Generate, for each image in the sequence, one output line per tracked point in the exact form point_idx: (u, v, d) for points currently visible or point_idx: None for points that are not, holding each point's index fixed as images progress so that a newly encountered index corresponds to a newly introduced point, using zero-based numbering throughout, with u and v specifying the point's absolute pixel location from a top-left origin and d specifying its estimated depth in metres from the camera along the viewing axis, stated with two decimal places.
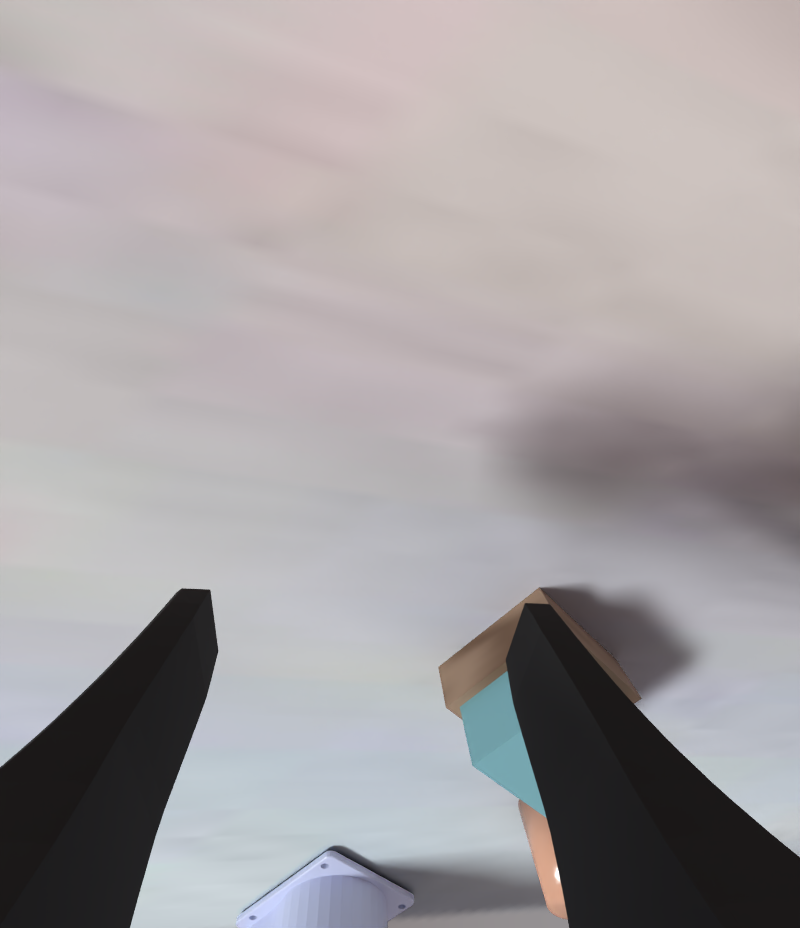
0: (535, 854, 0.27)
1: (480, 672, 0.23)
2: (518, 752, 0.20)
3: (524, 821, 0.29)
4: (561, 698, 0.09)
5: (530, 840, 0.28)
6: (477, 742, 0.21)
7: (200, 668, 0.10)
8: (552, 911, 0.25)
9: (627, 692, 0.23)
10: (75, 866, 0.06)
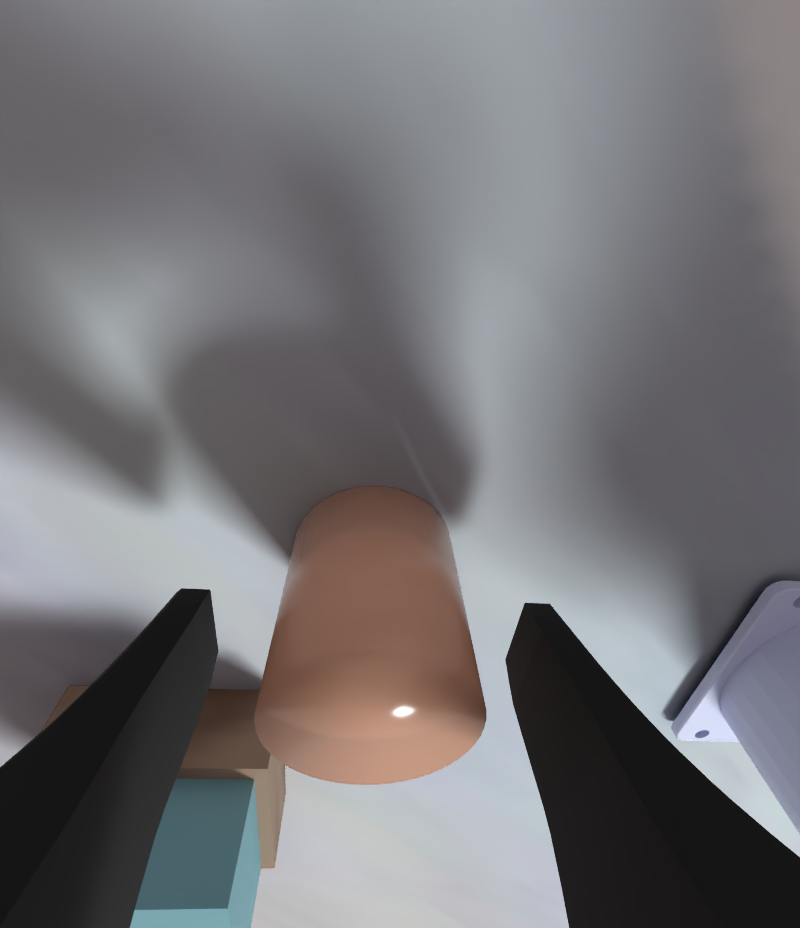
0: None
1: None
2: None
3: None
4: (561, 698, 0.09)
5: None
6: None
7: (200, 668, 0.10)
8: (473, 738, 0.09)
9: None
10: (75, 866, 0.06)
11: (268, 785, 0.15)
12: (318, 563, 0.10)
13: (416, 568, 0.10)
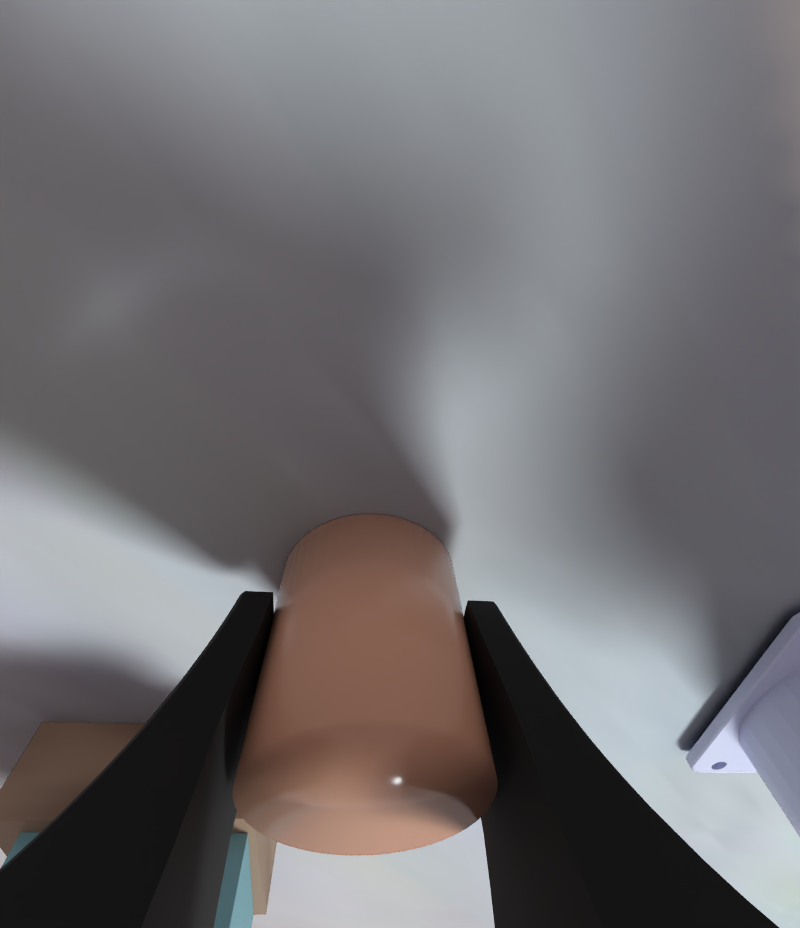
0: None
1: None
2: None
3: None
4: (493, 697, 0.09)
5: None
6: None
7: None
8: (482, 808, 0.08)
9: (3, 835, 0.13)
10: (186, 865, 0.06)
11: (255, 834, 0.13)
12: (307, 608, 0.09)
13: (417, 614, 0.09)
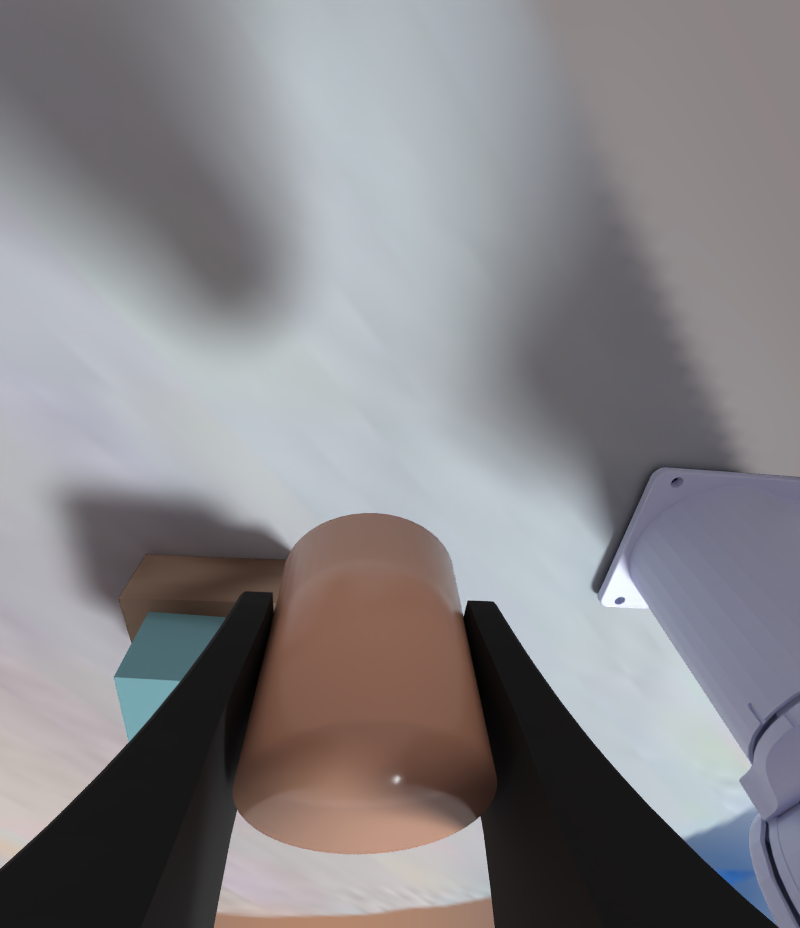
0: None
1: None
2: None
3: None
4: (492, 697, 0.09)
5: None
6: None
7: None
8: (482, 807, 0.08)
9: (129, 613, 0.19)
10: (186, 864, 0.06)
11: None
12: (307, 607, 0.09)
13: (417, 613, 0.09)
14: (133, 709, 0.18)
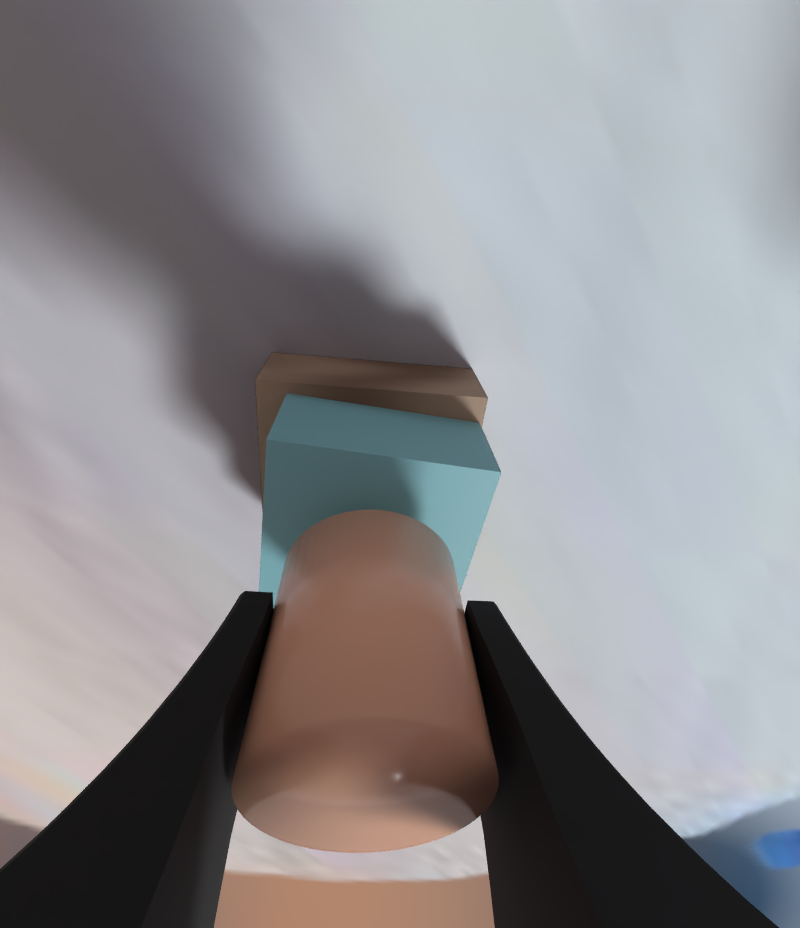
0: None
1: None
2: None
3: None
4: (493, 697, 0.09)
5: None
6: None
7: None
8: (482, 807, 0.08)
9: (265, 407, 0.14)
10: (186, 865, 0.06)
11: None
12: (310, 601, 0.09)
13: (422, 611, 0.09)
14: (279, 505, 0.12)
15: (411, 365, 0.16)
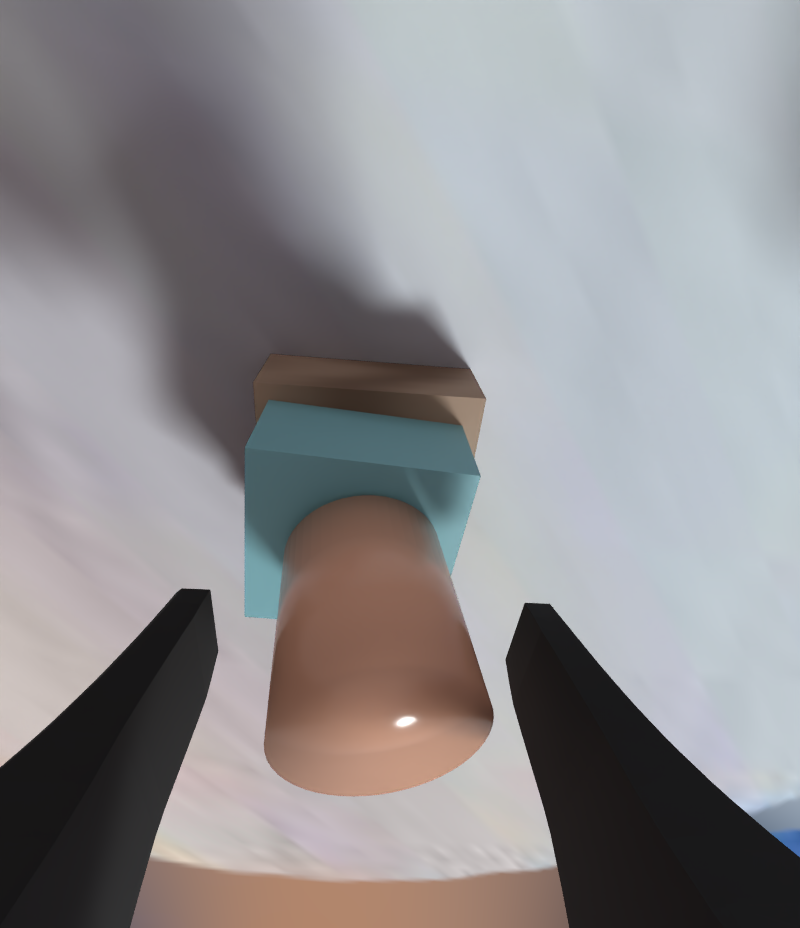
0: None
1: None
2: None
3: None
4: (561, 698, 0.09)
5: None
6: None
7: (200, 668, 0.10)
8: (478, 744, 0.10)
9: None
10: (75, 866, 0.06)
11: (479, 427, 0.15)
12: (322, 577, 0.10)
13: (422, 581, 0.10)
14: (261, 512, 0.12)
15: (409, 366, 0.16)
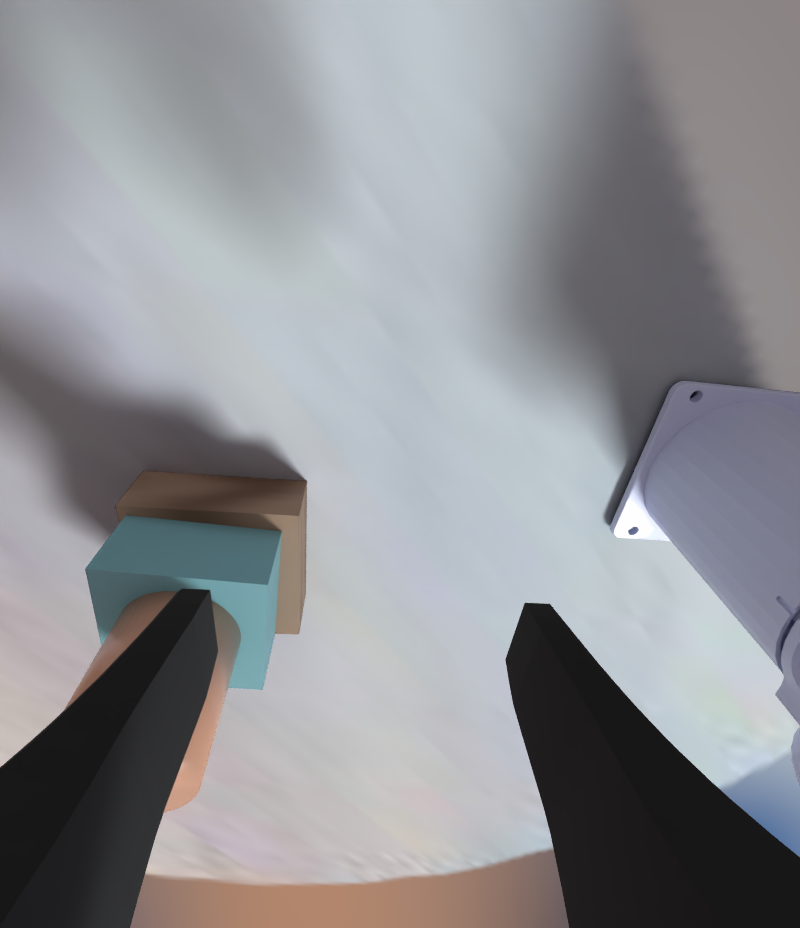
0: None
1: None
2: None
3: None
4: (561, 698, 0.09)
5: None
6: None
7: (200, 668, 0.10)
8: (191, 796, 0.14)
9: None
10: (75, 866, 0.06)
11: (298, 535, 0.19)
12: None
13: None
14: (106, 609, 0.17)
15: (256, 479, 0.21)
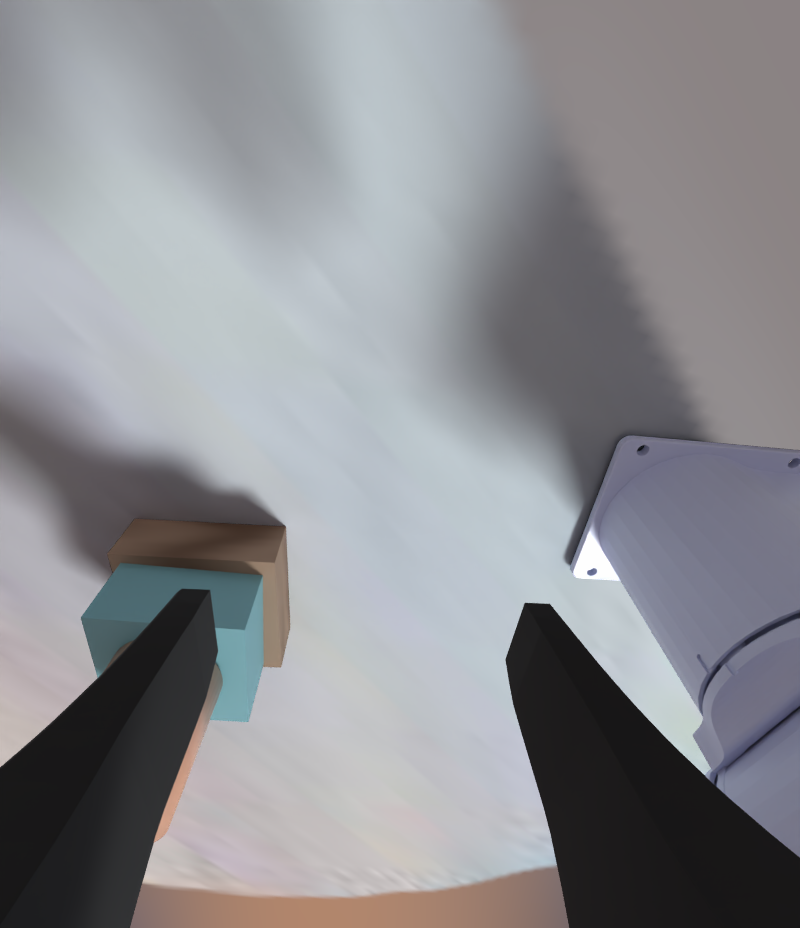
0: None
1: None
2: None
3: None
4: (561, 698, 0.09)
5: None
6: None
7: (200, 668, 0.10)
8: (162, 833, 0.15)
9: None
10: (75, 866, 0.06)
11: (275, 579, 0.21)
12: None
13: None
14: (101, 652, 0.18)
15: (238, 524, 0.22)
